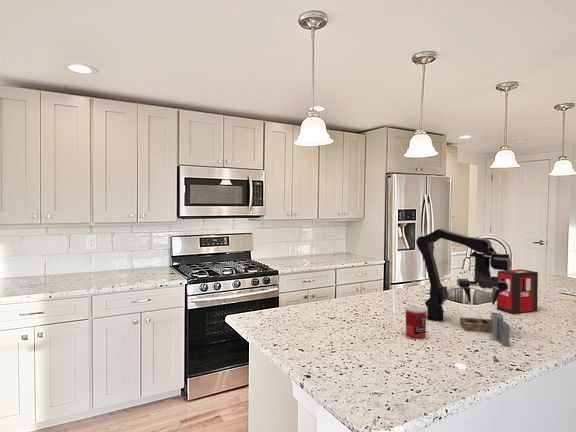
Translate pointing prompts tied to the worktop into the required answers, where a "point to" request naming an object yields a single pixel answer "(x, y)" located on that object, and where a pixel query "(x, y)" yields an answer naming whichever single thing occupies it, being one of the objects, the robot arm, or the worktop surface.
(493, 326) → the square bit
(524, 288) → the cleaning product box
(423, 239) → the robot arm
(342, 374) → the worktop surface
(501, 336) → the grey rectangular block
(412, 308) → the canned food
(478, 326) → the brown wooden slotted frame
